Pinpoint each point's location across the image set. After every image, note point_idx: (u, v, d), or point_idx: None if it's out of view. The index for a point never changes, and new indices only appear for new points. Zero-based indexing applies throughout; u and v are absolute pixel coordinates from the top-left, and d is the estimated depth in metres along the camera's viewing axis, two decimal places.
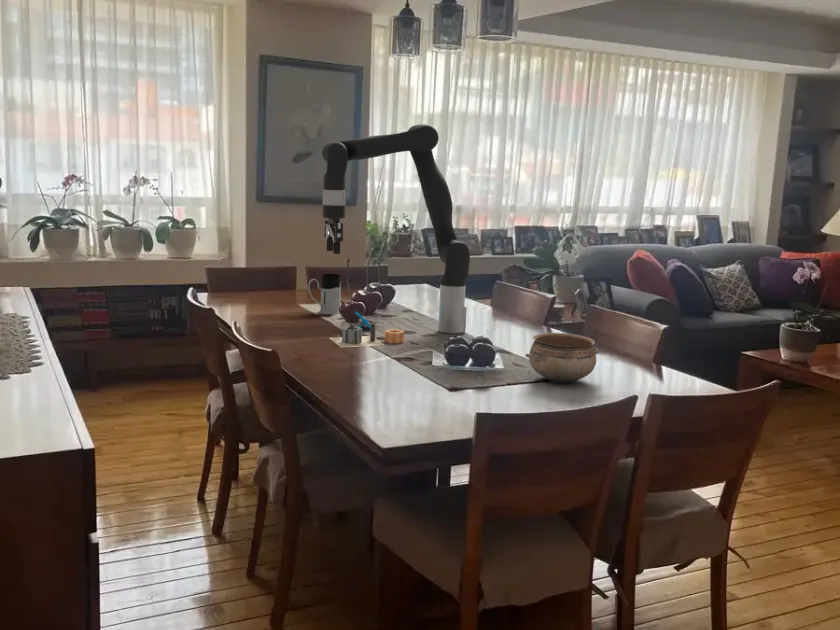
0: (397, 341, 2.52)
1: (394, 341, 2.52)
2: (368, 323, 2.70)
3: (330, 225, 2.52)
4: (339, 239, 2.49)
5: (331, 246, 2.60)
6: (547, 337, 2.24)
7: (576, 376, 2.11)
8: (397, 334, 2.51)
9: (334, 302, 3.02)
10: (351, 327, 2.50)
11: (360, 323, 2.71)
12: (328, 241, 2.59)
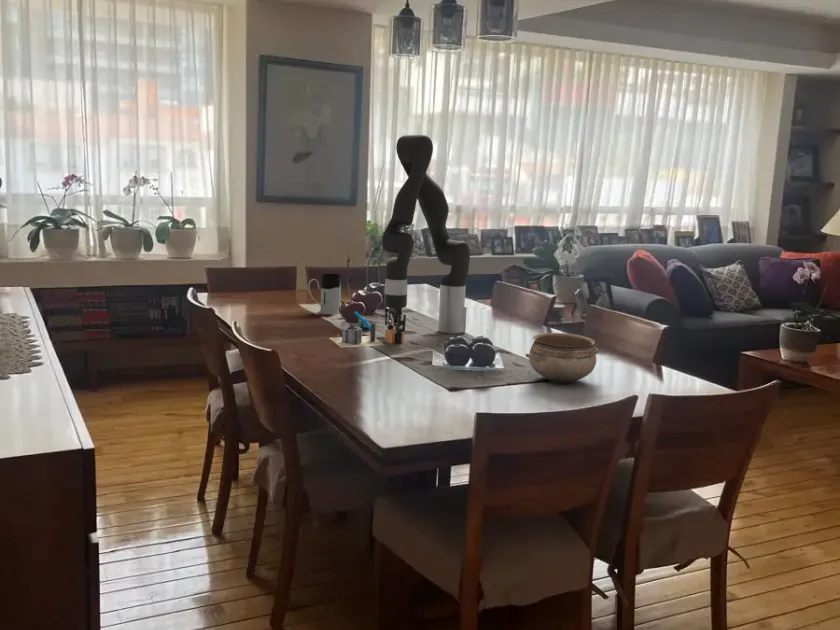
0: None
1: None
2: (367, 323, 2.70)
3: (392, 314, 2.51)
4: (401, 330, 2.48)
5: None
6: (547, 337, 2.24)
7: (576, 376, 2.11)
8: None
9: (334, 302, 3.02)
10: (351, 327, 2.50)
11: (359, 323, 2.71)
12: None
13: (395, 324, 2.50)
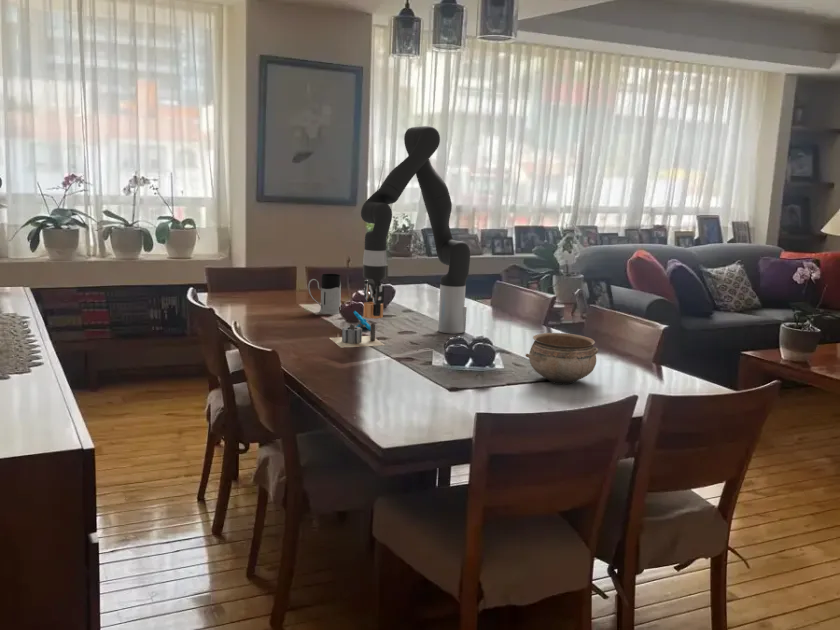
0: None
1: None
2: (366, 323, 2.70)
3: (371, 286, 2.48)
4: (380, 302, 2.46)
5: None
6: (547, 337, 2.24)
7: (576, 376, 2.11)
8: None
9: (334, 302, 3.02)
10: (351, 327, 2.50)
11: (358, 323, 2.71)
12: None
13: (374, 295, 2.48)
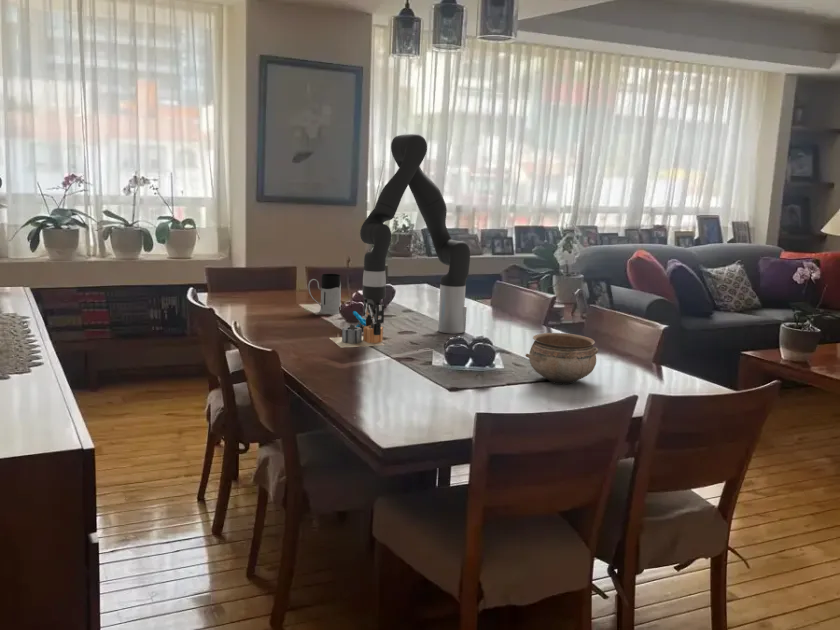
0: (375, 337, 2.51)
1: (372, 337, 2.51)
2: (365, 323, 2.70)
3: (370, 306, 2.50)
4: (380, 321, 2.46)
5: None
6: (547, 337, 2.24)
7: (576, 376, 2.11)
8: None
9: (334, 302, 3.02)
10: (351, 327, 2.50)
11: (358, 323, 2.72)
12: (367, 320, 2.56)
13: (374, 315, 2.48)
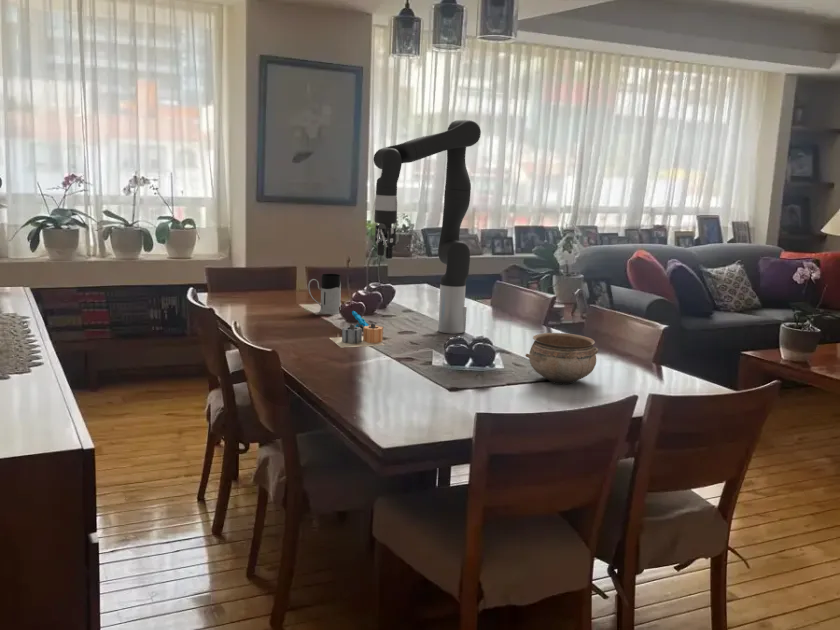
0: (375, 337, 2.51)
1: (372, 337, 2.51)
2: (364, 323, 2.70)
3: (382, 230, 2.56)
4: (392, 244, 2.52)
5: (382, 251, 2.63)
6: (547, 337, 2.24)
7: (576, 376, 2.11)
8: (375, 330, 2.50)
9: (334, 302, 3.02)
10: (351, 327, 2.50)
11: (357, 323, 2.72)
12: (379, 246, 2.62)
13: (386, 238, 2.54)
